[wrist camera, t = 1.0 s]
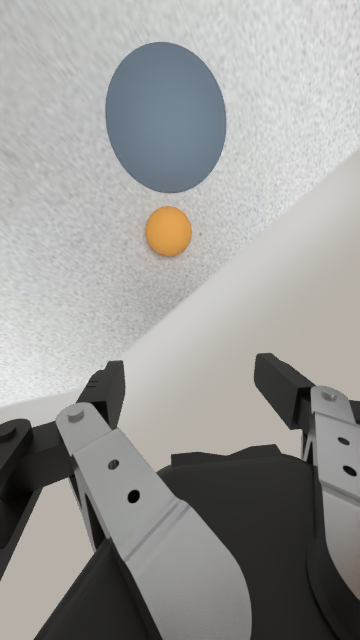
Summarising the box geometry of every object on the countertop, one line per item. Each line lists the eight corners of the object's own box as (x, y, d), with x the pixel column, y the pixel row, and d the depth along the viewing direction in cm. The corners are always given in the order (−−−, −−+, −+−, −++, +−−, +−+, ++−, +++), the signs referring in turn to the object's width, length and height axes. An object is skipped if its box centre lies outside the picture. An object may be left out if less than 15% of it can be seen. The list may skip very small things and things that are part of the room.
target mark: (110, 189, 25) (110, 188, 24) (100, 34, 21) (99, 32, 20) (221, 195, 26) (221, 195, 26) (230, 53, 22) (231, 51, 22)
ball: (147, 256, 27) (145, 255, 22) (146, 211, 26) (143, 198, 20) (187, 257, 28) (194, 256, 23) (188, 213, 26) (196, 201, 21)
